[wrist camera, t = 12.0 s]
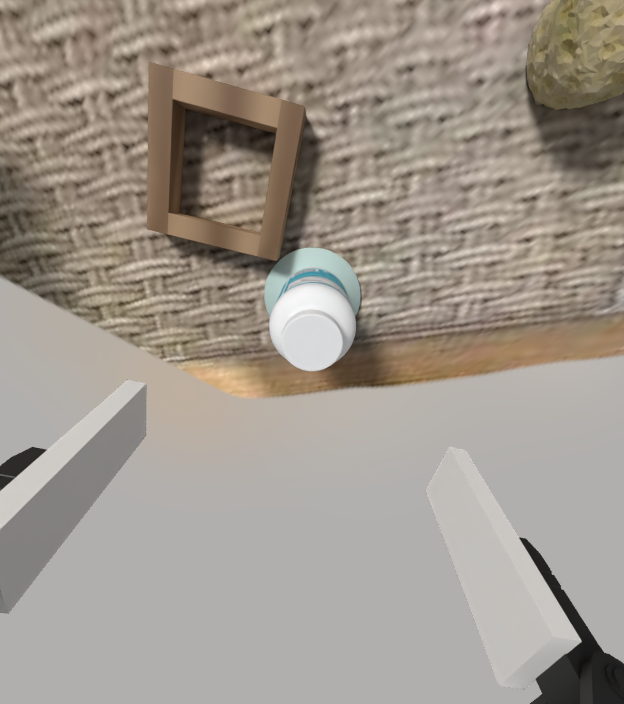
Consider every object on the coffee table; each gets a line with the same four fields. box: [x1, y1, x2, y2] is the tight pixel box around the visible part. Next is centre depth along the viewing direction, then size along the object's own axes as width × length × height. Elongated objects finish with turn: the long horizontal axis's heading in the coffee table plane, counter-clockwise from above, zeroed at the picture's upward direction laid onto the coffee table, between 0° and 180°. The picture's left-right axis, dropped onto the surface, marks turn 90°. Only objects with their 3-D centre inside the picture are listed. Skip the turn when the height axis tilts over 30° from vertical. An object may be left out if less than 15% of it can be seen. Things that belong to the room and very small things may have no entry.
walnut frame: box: [147, 62, 306, 261], centre depth 29 cm, size 13×13×3 cm
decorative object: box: [526, 0, 624, 110], centre depth 24 cm, size 9×10×10 cm
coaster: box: [264, 247, 361, 316], centre depth 35 cm, size 11×11×1 cm
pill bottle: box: [269, 267, 356, 371], centre depth 29 cm, size 8×7×14 cm
